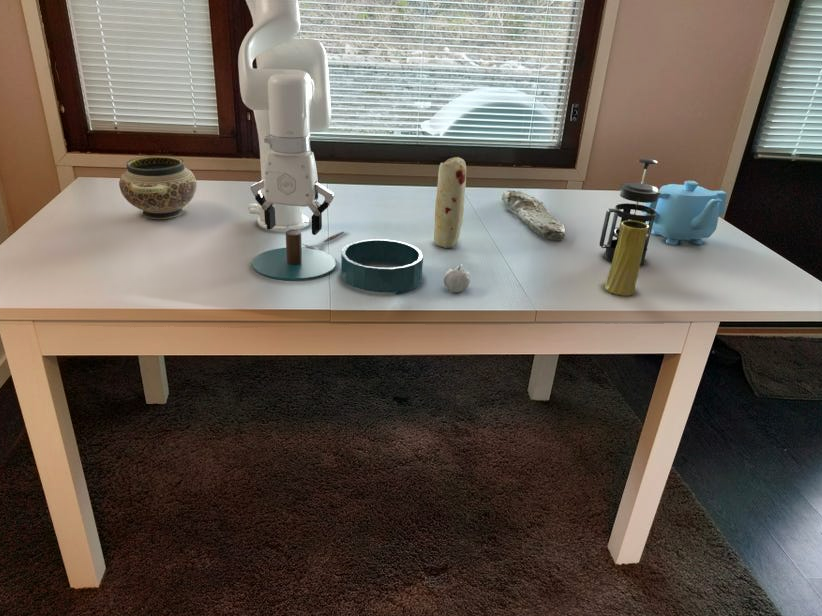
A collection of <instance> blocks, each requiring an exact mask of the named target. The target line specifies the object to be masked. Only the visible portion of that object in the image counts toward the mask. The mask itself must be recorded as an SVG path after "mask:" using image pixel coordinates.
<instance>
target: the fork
mask: <svg viewBox="0 0 822 616" xmlns="http://www.w3.org/2000/svg"><path fill="white" fill-rule="evenodd" d="M344 233H345V231H341V232H338V233H337V234H334V235H331V236H330V237H327V238H326V239H325V240H324V241H323V243H326V242H329V241H332V240H334V239H336V238H337V237H338V236H340V235H342V234H344ZM302 246H304V247H305V248H311V249H316V250H317V248H316V247H314V246H312V245H309V244H304V243H302Z"/></svg>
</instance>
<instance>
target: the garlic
mask: <svg viewBox="0 0 822 616" xmlns="http://www.w3.org/2000/svg"><path fill="white" fill-rule="evenodd" d="M462 266H463V264H461V263H460V264H458V267H452V268H450V269H447V271H446V272H445V275H444V277H443V285H444V287H445V288H446V289H447V290H448V291H449V292H451V293H456V294H457V293H463V292H465V291H466V290H467V289H468V288H469V286H470V283H471V274H470V272H469V271H468V270H466V269H463V268H462Z"/></svg>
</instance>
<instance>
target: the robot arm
mask: <svg viewBox="0 0 822 616" xmlns="http://www.w3.org/2000/svg"><path fill="white" fill-rule="evenodd" d="M245 2H246V5H247V7H248V9H249V12H250V15H251V18H252V19H251V20H252V25H253V26H252V27H251V28H250V29H249V31H247V33H246V35H245V36H244V38H243V40H242V42H241V45H240V47H239V51H238V58H237V67H238V80H239V91H240V97H241V100H242V102H243V104H244V105H245V107H246V108H248V109H249V110H252V111H253V114H254V120H255V124H256V125H255V126H256V130H257V137H258V143H259V145H258V146H259V160H260V177H261V178H260V179H261V180H260V181H259V182H256V183H254V184H252V185H250V188H249V189H250V191H251V193H252V195H253V196H254V200H255V201H256V203H251V202H250V203H249V204H248V206H247V207H248V212H249V214H251V215H258V216H259V217H258V218H257V220H256V221H257V224H258V226H259V227H261V228H263V229H266V230H267V231H280V232H284V231H285V232H287V231H289V230H301V229H303V228H307V227H309V225H310V219H309V218H308V216H307V215H305V214H303V208H305V207H306V208H307V207H308V209H310V211H311V212H312V213H313V214H312V215H311V234H312V236H316V235H317V234H318V233H319V232H320V231H321V230H322V229H323V213H324V212H325V211H326V210H327V209H328V208H329V207H330V205H331V203H332V202H333V199H334V198H335V195H336V194H335V193H334V192H333V191H332V190H330V189H328V188H327V187H326V186H324V185H322V184H320V183H319V178H318V170H317V163H316V159H315V158H316V157H315V155H314V152H313V151H312V150H311V133H323V132H326V131H327V130H328V129H329V127H331V122H332V103H331V93H330V92H331V89H330V76H329V66H328V65H329V63H328V57H327V56H328V55H327V52H326V49H325V47H324V45H323V43H321V41H319V40H317V39H314V38H313V39H312V38H296V37H295V36H297V34H298V33H299V31H300V28H301V17H300V8H299V0H245ZM254 60H255V62H256V68H254V67H253V62H254ZM319 195H321V196H323V197H324V200H323V202H322V203H320V201H319V200H318V199H319ZM257 203H258V204H257Z"/></svg>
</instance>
